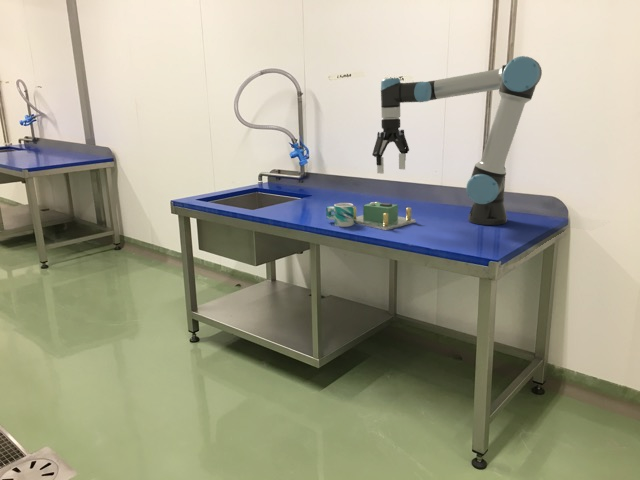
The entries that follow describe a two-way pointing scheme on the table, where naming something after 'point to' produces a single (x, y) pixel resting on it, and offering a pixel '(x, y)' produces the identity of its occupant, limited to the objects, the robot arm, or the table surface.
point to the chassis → (384, 221)
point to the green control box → (380, 211)
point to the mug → (341, 214)
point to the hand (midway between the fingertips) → (391, 171)
